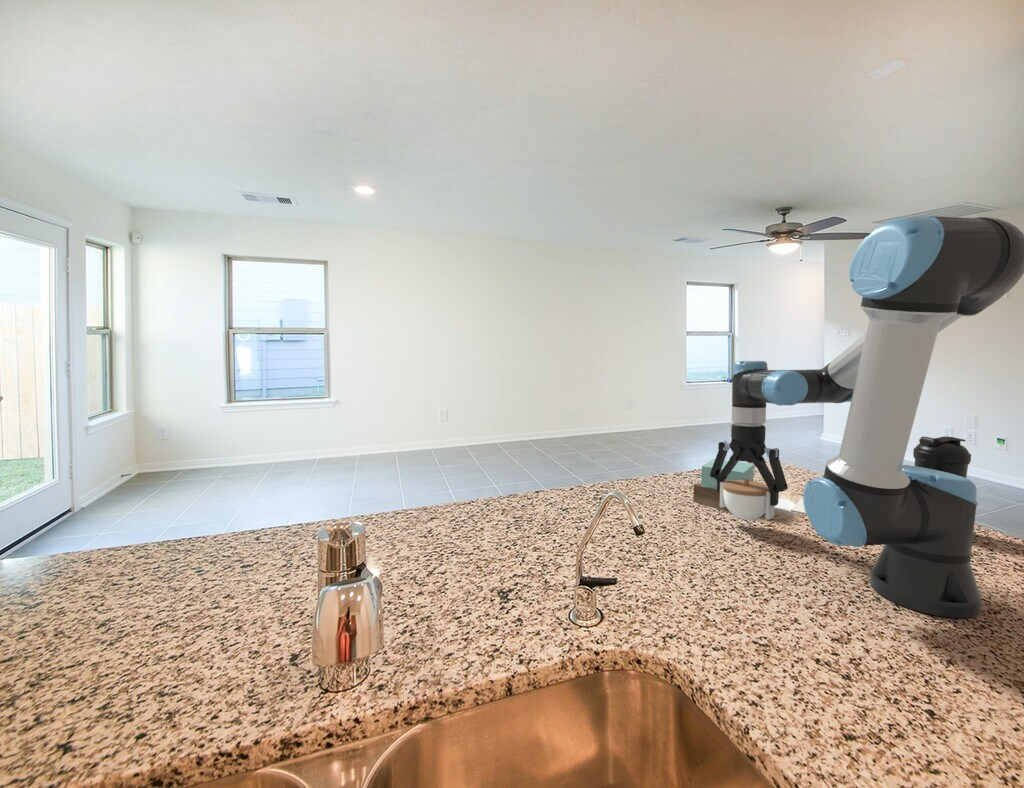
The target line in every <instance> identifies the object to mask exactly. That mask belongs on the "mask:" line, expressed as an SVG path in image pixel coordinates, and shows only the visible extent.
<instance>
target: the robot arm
mask: <svg viewBox="0 0 1024 788" xmlns="http://www.w3.org/2000/svg"><path fill="white" fill-rule="evenodd" d="M1023 275H1024V232H1023V231H1022V230H1020V228H1019V227H1017V226H1016V225H1014V224H1012V223H1011V222H1008V221H1006V220H1003V219H1000V218H994V217H988V216H987V217H983V216H982V217H981V216H980V217H963V216H962V217H959V216H958V217H957V216H933V215H926V216H925V215H920V216H909V217H908V216H907V217H899V218H893V219H890V220H888V221H885V222H883V223H881V224H879V225H878V226H877V227H875V228H874V229H873V230H872V231H871V233H870V234H867V235H866V236H865V237H864V238H863V239H862V241H861V242H860V243H859V245H858V247H857V248H856V250H855V252H854V254H853V256H852V259H851V263H850V266H849V281H850V282H851V283H852V284H851V287H852V289H853V290H854V292H855V293H856V294H858V295H859V296H861V297H862V298H861V303H860V310H862V311H863V312H864V313H865V315H866V316H867V318H868V325H867V328H866V332H865V333H864V334H863V335H862V336H860V338H858V339H857V340H856V341H855V342H853V343H852V344H850V346H849V347H848V348H846V349H845V350H843V351H842V352H841V353H840V354H838V355H837V356H836V357H834V359H832V361H830V362H829V363H828V364H826V365H824V367H823V368H818V369H769V368H768V363H767V362H766V361H765V360H737V361H736V362H734V363H733V367H732V368H733V369H732V375H731V379H732V380H731V382H732V383H731V385H732V386H731V403H732V404H731V418H730V419H731V422H732V424H731V425H730V426H731V427H730V429H731V430H730V437H731V441H730V442H728V441H726V440H724V441H720V442H718V451H717V454H716V457H715V458H714V459H715V462H714V464H713V467H712V470H711V472H710V477H713V478H715V479H716V480H717V493H720V507H721V508H723V507H726V505H725V502H724V497H723V483H724V482H726V480H725V479H727V478H726V477H727V476H728V475H729V473H730V472H731V471H732V469H733V468H734V467H735V465H736V464H737V463H738V462H746V463H748V464H754V467H756V469H757V471H758V472H759V473H760V476H761V478H762V479H763V481H764V484H766V485H767V486H768V488H769V490H770V491H768V492H766V512H765V515H764V516H765V520H771V519H773V518H774V517H775V507H776V506H778V505H779V498H780V497H779V495H780V493H782V492H785V491H787V490H788V489H789V486H788V483H787V480H786V477H785V476H786V475H785V473H784V470H783V467H782V463H781V460H780V450H779V448H777V447H776V448H770V447H767V446H766V444H765V443H766V432H767V431H766V430H767V429H766V426H765V423H767V421H766V419H767V404H773V405H775V406H776V405H777V406H796V405H797V404H825V403H826V404H830V403H831V404H843V403H850V405H849V409H848V414H847V416H846V417H847V418H846V422H845V426H844V430H843V437H842V440H841V445H840V448H839V449H840V450H839V453H838V455H836V456H834V457H833V456H832V457H831V458H830V459H828V460H827V461H826V464H825V469H824V474H823V476H822V477H815V478H813V479H811V480H810V481H808V482H807V483H806V485H805V487H804V490H803V497H802V498H803V502H804V508H805V511H806V516H807V518H808V521H809V524H810V525H811V526H812V527H813V529H814V530H815V532H816V533H817V534H818V535H819V536H820V537H821V538H823V540H824V541H826V542H828V543H830V544H832V545H835V546H838V547H854V548H861V547H863V546H882V545H883V547H882V549H881V550H880V553H879V555H878V556H877V559H875V562H874V563H873V566H872V567H871V569H870V576H869V584H870V586H871V588H872V589H873V590H874V591H875V592H876V593H877V594H878V595H880V596H882V597H884V599H886V600H889V601H891V602H893V603H894V604H897V605H900V606H901V607H905V608H908V609H910V610H912V611H913V610H914V611H917V612H919V613H923V614H928V615H931V616H935V617H936V616H937V617H943V618H950V619H969V618H974V617H976V616H978V615H979V614H980V613H981V607H982V596H981V593H980V590H979V587H978V584H977V580H976V577H975V575H974V572H973V569H972V566H971V560H972V559H971V558H972V550H973V539H974V531H975V521H976V511H977V506H978V504H979V503H978V502H977V487H976V485H975V483H974V482H973V481H972V480H970V479H969V478H968V477H966V478H964V477H962V476H958V475H955V474H951V473H947V472H943V471H938V470H933V469H928V468H923V467H917V466H915V465H908V464H903V463H904V461H905V460H904V459H905V456H906V453H907V448H908V444H909V441H910V436H911V434H912V430H913V427H914V422H915V418H916V415H917V412H918V411H917V410H918V407H919V403H920V399H921V396H922V392H923V389H924V384H925V381H926V377H927V374H928V371H929V367H930V363H931V360H932V359H931V358H932V355H933V351H934V347H935V345H936V344H935V343H936V340H937V336H938V334H939V333H940V332H941V331H943V330H944V329H946V328H947V327H949V326H950V325H951V324H953V323H954V322H957V320H959V319H960V318H963V317H973V316H977V315H978V314H979V313H981V312H983V311H984V310H986V309H987V308H989V307H991V305H993V304H994V303H996V302H997V301H999V300H1000V299H1001V298H1003V297H1004V296H1005V295H1006V294H1007V293H1008V292H1010V290H1012V289H1013V288H1014V287H1015V286H1016V285H1018V284H1017V283H1019V281H1020V280H1021V278H1022V277H1023ZM729 450H731V452H732V455H731V456H730V457H729V460H727V461H728V463H727V464H726V465H725V467H724V468H723V469H722V471H721V468H722V465H723V463H724V460H725V459H726V458H727V454H728V451H729ZM765 454H766V456H767V458H768V461H769V465H770V468H769V467H768V465H767V462H766V459H765V458H764V455H765ZM770 469H771V470H770ZM720 471H721V472H720ZM771 471H772V472H771ZM719 473H720V474H719ZM772 473H773V474H772ZM724 480H725V481H724Z"/></svg>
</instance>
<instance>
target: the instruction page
mask: <svg viewBox="0 0 1024 788" xmlns="http://www.w3.org/2000/svg"><path fill="white" fill-rule="evenodd" d="M790 511H792V512H795V513H800V514H801V513H802V514H806V511H805V508H804V502H803V497H801V498H800V500H798V502H797V503H795V505H794V506H793V507H792V508H791V509H790ZM806 515H807V514H806Z"/></svg>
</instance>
